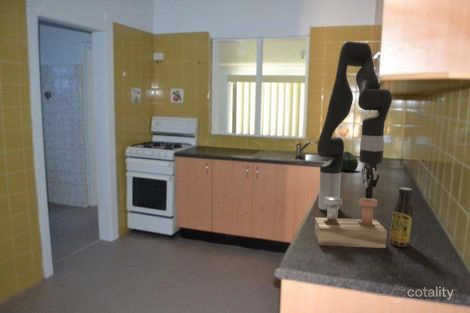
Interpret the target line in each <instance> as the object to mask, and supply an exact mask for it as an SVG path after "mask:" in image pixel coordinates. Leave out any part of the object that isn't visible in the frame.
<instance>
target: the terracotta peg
mask: <svg viewBox="0 0 470 313" xmlns="http://www.w3.org/2000/svg"><path fill="white" fill-rule="evenodd" d="M358 205H359V206H361V207H362V208H361V219H362V220H361V221H362V222H363V223H372V220H374V218H373V216H374V208H377V207H378V199H375V198H372V199H367V198H366V197H360V198H358Z"/></svg>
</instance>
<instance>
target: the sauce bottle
mask: <svg viewBox="0 0 470 313" xmlns="http://www.w3.org/2000/svg"><path fill="white" fill-rule="evenodd" d="M412 193H413V189H412V188H409V187H405V186H404V187H403V186H402V187H399V188H398V199H397V202H396V203H395V204H394V207H393V211H392V217H391V226H390V233H389V234H390V235H389V243H390V244H391V245H393V246H396V247H400V248H404V247H408V246H409V244H410V240H411V232H412V231H411V230H412V222H413V213H414V210H413V209H414V208H413V206H412V204H411V200H412Z"/></svg>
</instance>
